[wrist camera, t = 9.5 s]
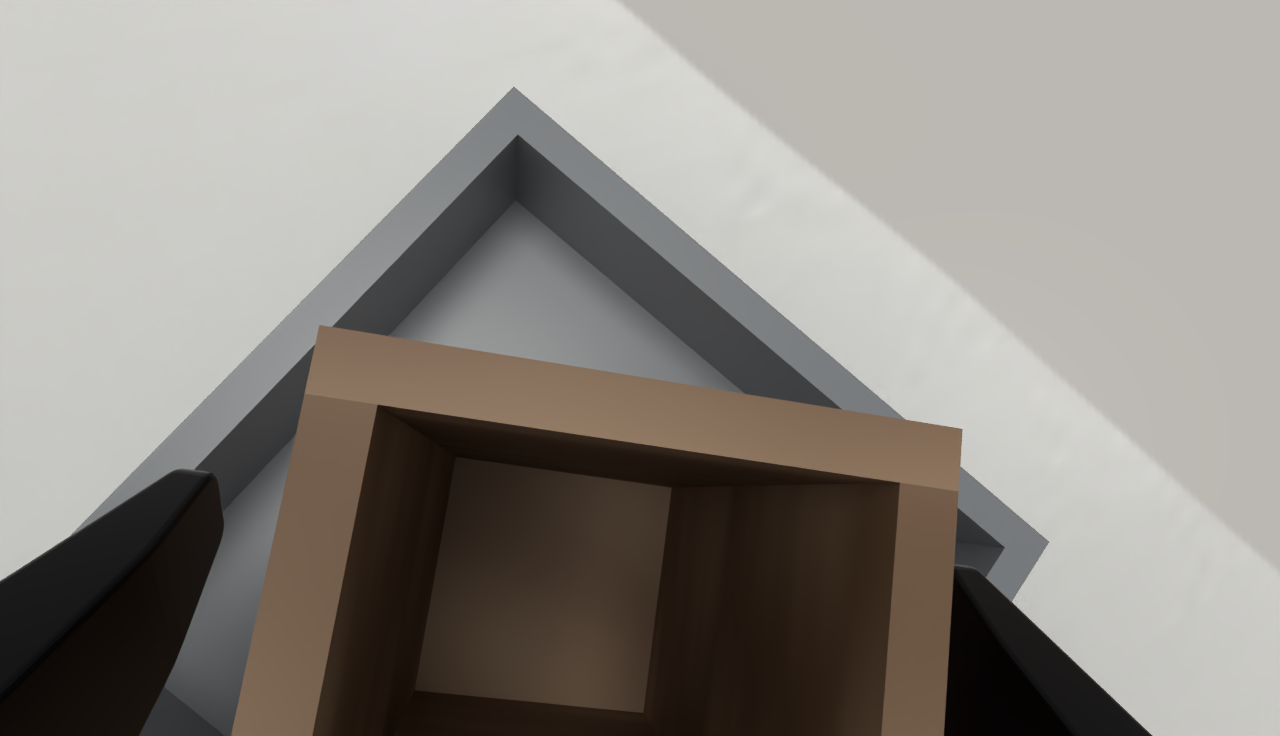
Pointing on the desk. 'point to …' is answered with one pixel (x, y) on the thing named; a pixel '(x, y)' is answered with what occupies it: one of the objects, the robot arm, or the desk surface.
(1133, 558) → the desk surface
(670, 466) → the walnut crate
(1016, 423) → the desk surface
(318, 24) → the desk surface
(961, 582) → the robot arm
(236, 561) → the tray
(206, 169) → the desk surface
